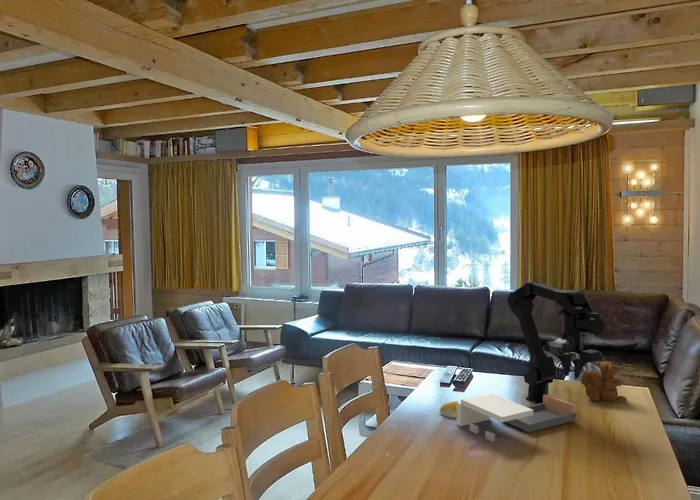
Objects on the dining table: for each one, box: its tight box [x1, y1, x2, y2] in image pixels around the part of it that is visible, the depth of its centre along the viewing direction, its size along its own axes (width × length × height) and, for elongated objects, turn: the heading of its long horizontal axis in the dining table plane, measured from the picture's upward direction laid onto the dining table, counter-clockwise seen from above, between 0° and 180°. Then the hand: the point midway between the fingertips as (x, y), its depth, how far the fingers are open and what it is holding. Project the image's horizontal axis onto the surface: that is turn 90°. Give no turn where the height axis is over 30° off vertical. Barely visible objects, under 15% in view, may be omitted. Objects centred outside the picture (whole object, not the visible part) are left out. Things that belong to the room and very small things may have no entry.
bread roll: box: [439, 400, 459, 419], centre depth 190 cm, size 8×9×4 cm
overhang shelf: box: [456, 392, 533, 443], centre depth 174 cm, size 12×20×8 cm, turn 28°
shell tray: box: [505, 394, 577, 433], centre depth 182 cm, size 20×12×5 cm, turn 118°
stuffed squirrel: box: [579, 360, 628, 403], centre depth 203 cm, size 10×14×13 cm
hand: (571, 377), depth 188 cm, fingers open, 3 cm apart
